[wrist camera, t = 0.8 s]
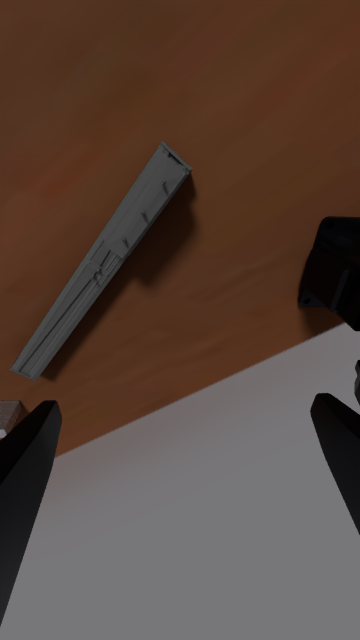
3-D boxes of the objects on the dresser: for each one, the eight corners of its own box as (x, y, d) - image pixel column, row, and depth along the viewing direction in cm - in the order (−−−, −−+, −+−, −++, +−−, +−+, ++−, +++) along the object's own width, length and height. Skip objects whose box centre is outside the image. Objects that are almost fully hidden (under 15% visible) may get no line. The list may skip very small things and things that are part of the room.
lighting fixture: (51, 365, 24) (33, 405, 20) (21, 351, 23) (-4, 390, 19) (196, 173, 17) (207, 181, 14) (161, 140, 16) (164, 140, 12)
